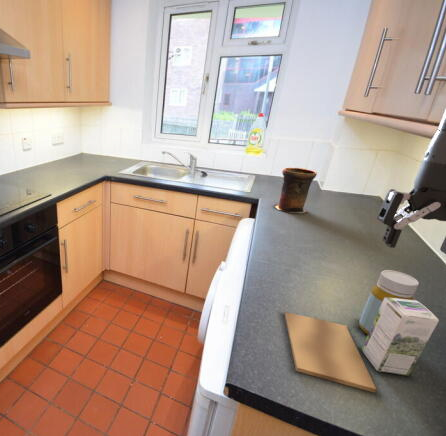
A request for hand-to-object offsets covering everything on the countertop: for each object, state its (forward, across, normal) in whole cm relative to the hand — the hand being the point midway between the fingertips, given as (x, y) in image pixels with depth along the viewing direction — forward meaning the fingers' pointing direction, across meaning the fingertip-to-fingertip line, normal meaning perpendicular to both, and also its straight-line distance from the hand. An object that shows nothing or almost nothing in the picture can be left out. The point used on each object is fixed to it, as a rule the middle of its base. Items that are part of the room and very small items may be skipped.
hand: (417, 249), depth 54 cm
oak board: (+26, -9, -1) cm, 27 cm away
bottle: (+26, +5, +9) cm, 28 cm away
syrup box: (+26, +2, -2) cm, 26 cm away
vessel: (+26, +5, +99) cm, 103 cm away
